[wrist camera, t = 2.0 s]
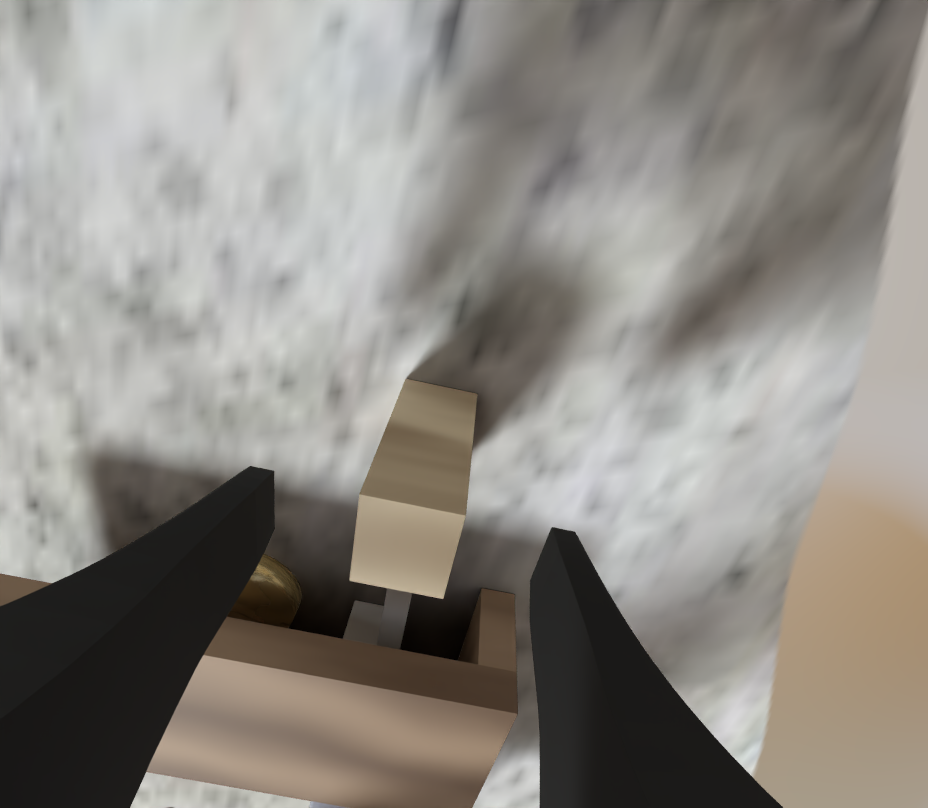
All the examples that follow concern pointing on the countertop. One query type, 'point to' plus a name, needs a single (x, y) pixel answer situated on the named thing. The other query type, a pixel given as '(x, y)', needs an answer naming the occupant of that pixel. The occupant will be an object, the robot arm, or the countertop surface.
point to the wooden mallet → (412, 507)
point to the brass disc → (269, 595)
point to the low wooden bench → (342, 713)
